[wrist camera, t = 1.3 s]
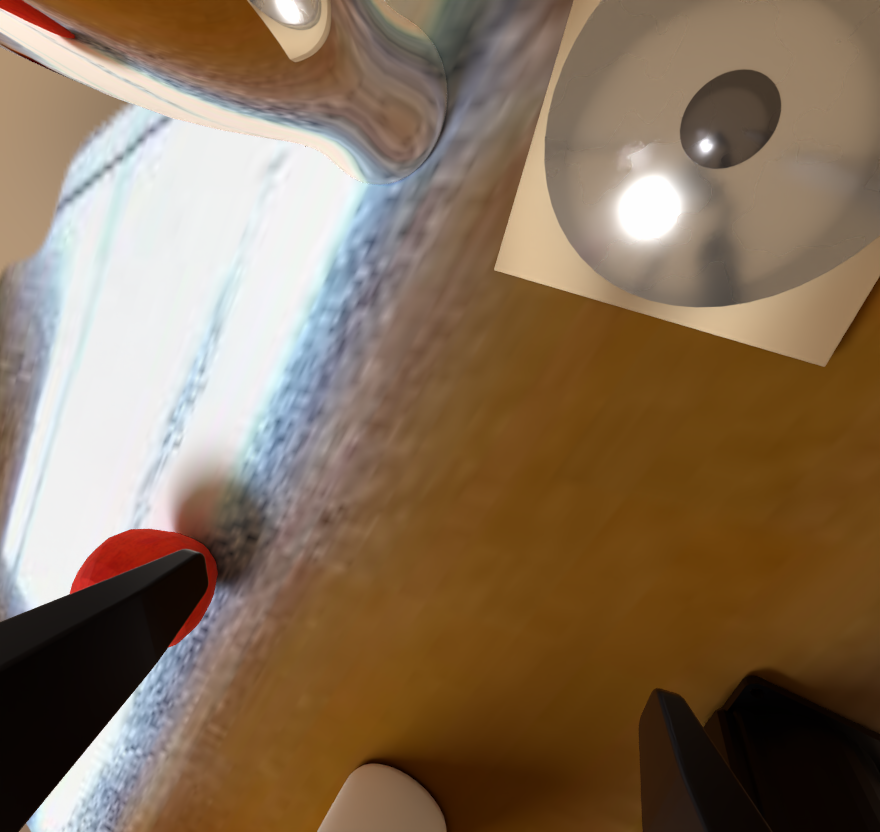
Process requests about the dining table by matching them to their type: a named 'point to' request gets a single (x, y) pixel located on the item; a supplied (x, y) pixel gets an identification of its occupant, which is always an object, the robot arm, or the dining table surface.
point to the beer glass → (255, 69)
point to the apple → (138, 551)
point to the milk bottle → (383, 804)
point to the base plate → (754, 323)
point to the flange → (718, 144)
